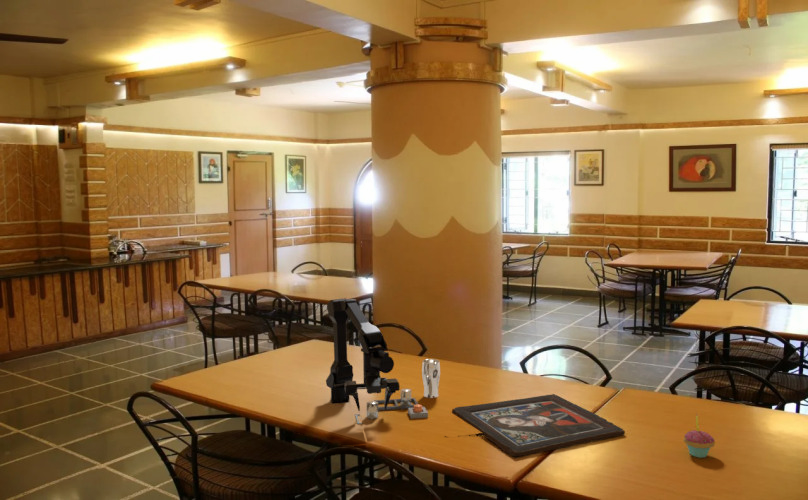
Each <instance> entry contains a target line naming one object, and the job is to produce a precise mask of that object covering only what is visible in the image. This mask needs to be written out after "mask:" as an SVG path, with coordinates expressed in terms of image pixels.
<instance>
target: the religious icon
mask: <svg viewBox="0 0 808 500" xmlns="http://www.w3.org/2000/svg"><path fill="white" fill-rule="evenodd" d="M451 412H452V413H453V414H454V415H456V416H457V417H458V418H460V419H462V420H463V421H464V422H466V423H467V424H469V425H470V426H472V427H473V428H475V429H476V430H478V431H480V432H479V433H477V434H476V435H475V436H476V437H482V436H484V438H486V439H487V440H489V441H491V442H492V443H493V444H494V445H496V446H497V447H498V448H500V449H501V450H502V451H504V452H505V453H507V454H508V455H510V456H511V457H514V458H519V457H523V456H524V457H525V456H529V455H534V454H538V453H543V452H544V453H545V452H549V451H553V450H557V449H558V450H559V449H563V448H569V447H573V446H578V445H583V444H587V443H591V442H596V441H597V442H598V441H602V440H607V439H612V438H617V437H620V436H624V435H625V434H626V431H625V430H624V428H621V427H620V426H618V425H616V424H614V423H613V422H612V421H611V422H610V421H608V420H607V419H606V418H604V417H601V416H599V414H596V413H594V412H592V411H590V410H588V409H585V408H583V406H582V407H581V406H579V405H578V404H576V403H573V402H572V401H569V400H567V399H565V398H562V397H561V396H558V395H557V394H554V393H552V394H545V395H538V396H533V397H532V396H531V397H526V398H518V399H510V400H505V401H504V400H502V401H497V402H496V401H495V402H488V403H482V404H474V405H473V404H472V405H464V406H456V407H455V408H452V410H451Z"/></svg>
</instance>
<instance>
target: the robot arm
mask: <svg viewBox="0 0 808 500" xmlns="http://www.w3.org/2000/svg"><path fill="white" fill-rule="evenodd" d="M326 309H327V314H328V317H329V319H330V321H332V327H333V329H332V330H333V332H332V333H333V354H334V355H333V358H334V360H333V361H332V364H331V366H330V371H329V374H328V376H327V377H326V380H325V383H326V386H327V387H328V388H329V389H330V404H346V403H347V404H348V403H349V400H350V396H351V397H352V398H353V400H354V401H355V405H356V407H357V410H358V412H360V410H361V407H360V401H359V400H360V399H359V393H358V390H366V393H367V394H369V395H371V394H381V393H382V390H384V389H385V390H384V400H385V401H384V404H383V407H384V408H385V409H386V408H387V406H389V405H388V404H389V403H388V402H389V399H391V397H392V396H393V394H395V393H397V392H398V391H399V392H400V391H401V389H400V388H401V387H400V382H399V380H398V379H397V378H387V377H381V373H383V374H389V373H390V372H392V370H393V369H394V366H395V362H394V359H393V357H391V356H390V354H389V351H388V347H387V346H388V344H387V342H386V340H385V338H384V335H383V333H382V332H381V330H380V329H379V328H378V327H377V326H376V325H373V324H371V323H370V322H369V319H367V317H366V316H365V314H364V312H363V311H362V309H361V308H360V306H359V305H358V301H357V299H355V298H345V297H344V298H337V299H336V298H335V299H331V300H329V302H327V304H326ZM348 319H350V321H351V323H352V324H353V326H354V327H355V328H356V330H357V333H358V335H357V339H358V341H359V343H360V345H361V347H362V348H361V349H360V352H362V355H363V358H362V360H363V367H362V368H363V369H362V370H363V382H362V383H357V381H356V380H353V379H354V371H353V370H354V368H353V365H352V364H351V363H350V362H349V360H348V346H347V345H348V342H347V341H348V340H347V322H348Z"/></svg>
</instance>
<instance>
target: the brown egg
mask: <svg viewBox="0 0 808 500" xmlns="http://www.w3.org/2000/svg"><path fill="white" fill-rule="evenodd" d="M413 405H414V412H422V407H423V405H422V404H419V403H418V404H417V405H415V404H413Z"/></svg>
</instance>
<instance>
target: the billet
mask: <svg viewBox="0 0 808 500" xmlns="http://www.w3.org/2000/svg"><path fill="white" fill-rule="evenodd" d="M378 406H379V404H378V402H376V401H374V400H371V401H367V402H366V418H367V419H368V420H375V419H376V420H377V419H378V418H379V411H378Z"/></svg>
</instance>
